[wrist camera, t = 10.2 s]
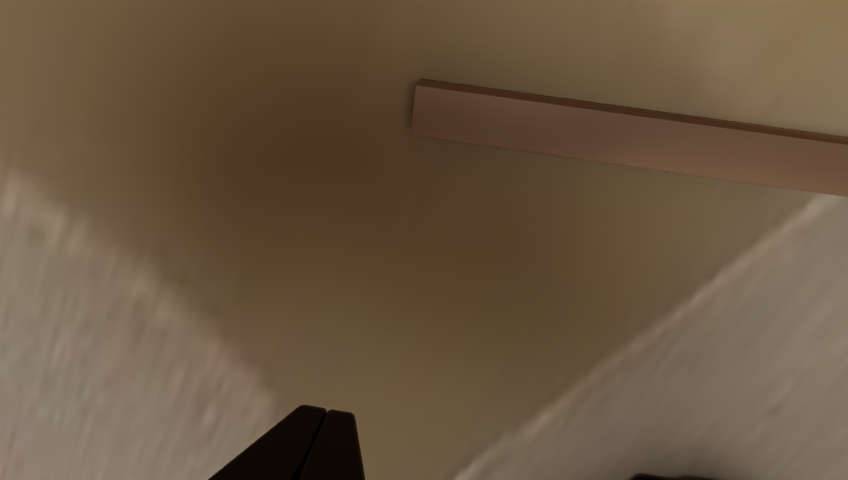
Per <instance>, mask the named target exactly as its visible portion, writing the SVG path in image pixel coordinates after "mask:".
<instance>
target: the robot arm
mask: <svg viewBox="0 0 848 480" xmlns="http://www.w3.org/2000/svg"><path fill="white" fill-rule="evenodd" d="M208 480H365V475H364V469H363V463H362V457H361V451H360V445H359V438H358V432H357V426H356V420H355V416H354V414H352V413H350V412H344V411H338V410H329V411H328V412H327V410H326V409H325V408H321V407H315V406H310V405H301V406H299V407H298V408H296V409H295V410H294V411H293V412H291V413H290V414H289V415H288V416H286V417H285V418H284V419H283V420H281V421H280V422H279V423H278V424H276V425H275V426H274V427H273V428H271V429H270V430H269V431H268V432H266V433H265V434H264V435H263V436H262V437H260V438H259V439H258V440H257V441H255V442H254V443H253V444H252V445H250V446H249V447H248V448H247V449H245V450H244V451H243V452H242V453H240V454H239V455H238V456H237V457H235V458H234V459H233V460H232V461H230V462H229V463H228V464H227V465H226V466H224V467H223V468H222V469H221V470H219V471H218V472H217V473H216V474H214V475H213V476H212V477H211V478H209V479H208ZM634 480H661V479H655V478H649V477H638V478H635V479H634Z"/></svg>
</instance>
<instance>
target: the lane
mask: <svg viewBox="0 0 848 480" xmlns="http://www.w3.org/2000/svg"><path fill="white" fill-rule="evenodd" d="M410 135H414V136H421V137H428V138H435V139H442V140H449V141H456V142H463V143H471V144H478V145H485V146H492V147H499V148H506V149H513V150H520V151H527V152H534V153H541V154H548V155H555V156H563V157H570V158H577V159H584V160H591V161H598V162H605V163H612V164H619V165H626V166H633V167H640V168H647V169H655V170H662V171H669V172H676V173H683V174H690V175H697V176H704V177H711V178H718V179H725V180H732V181H739V182H747V183H754V184H761V185H768V186H775V187H782V188H789V189H796V190H803V191H810V192H817V193H824V194H831V195H839V196H846V197H848V137H842V136H834V135H827V134H820V133H813V132H805V131H798V130H791V129H783V128H776V127H769V126H762V125H754V124H747V123H740V122H732V121H725V120H718V119H710V118H703V117H696V116H689V115H681V114H674V113H667V112H659V111H652V110H645V109H638V108H630V107H623V106H616V105H608V104H601V103H594V102H587V101H579V100H572V99H565V98H557V97H550V96H543V95H536V94H528V93H521V92H514V91H506V90H499V89H492V88H484V87H477V86H470V85H463V84H455V83H448V82H441V81H433V80H426V79H420V81H419V82H418V83H417V85H416V88H415V97H414V106H413V115H412V124H411V133H410Z"/></svg>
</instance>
